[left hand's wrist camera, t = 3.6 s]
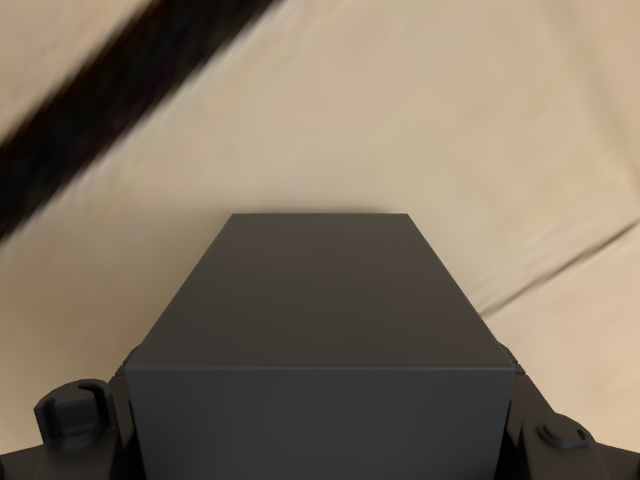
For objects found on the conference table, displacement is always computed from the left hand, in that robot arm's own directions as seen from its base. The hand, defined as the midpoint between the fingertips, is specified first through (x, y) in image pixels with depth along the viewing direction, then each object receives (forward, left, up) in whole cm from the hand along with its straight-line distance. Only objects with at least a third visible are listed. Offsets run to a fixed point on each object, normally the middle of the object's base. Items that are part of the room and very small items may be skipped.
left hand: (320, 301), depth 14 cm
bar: (+10, 0, -1) cm, 10 cm away
